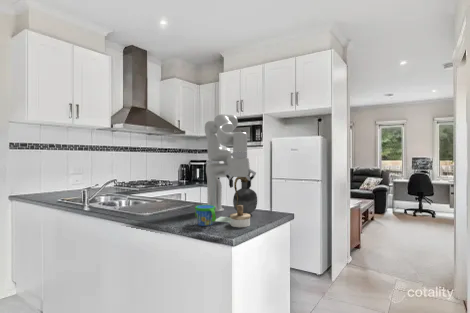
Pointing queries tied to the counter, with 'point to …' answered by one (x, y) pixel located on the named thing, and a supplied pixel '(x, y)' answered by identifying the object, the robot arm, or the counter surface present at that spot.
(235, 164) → the robot arm
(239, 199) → the pitcher
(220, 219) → the mat
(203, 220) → the snack cup
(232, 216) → the lid
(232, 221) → the bowl
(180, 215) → the counter surface
